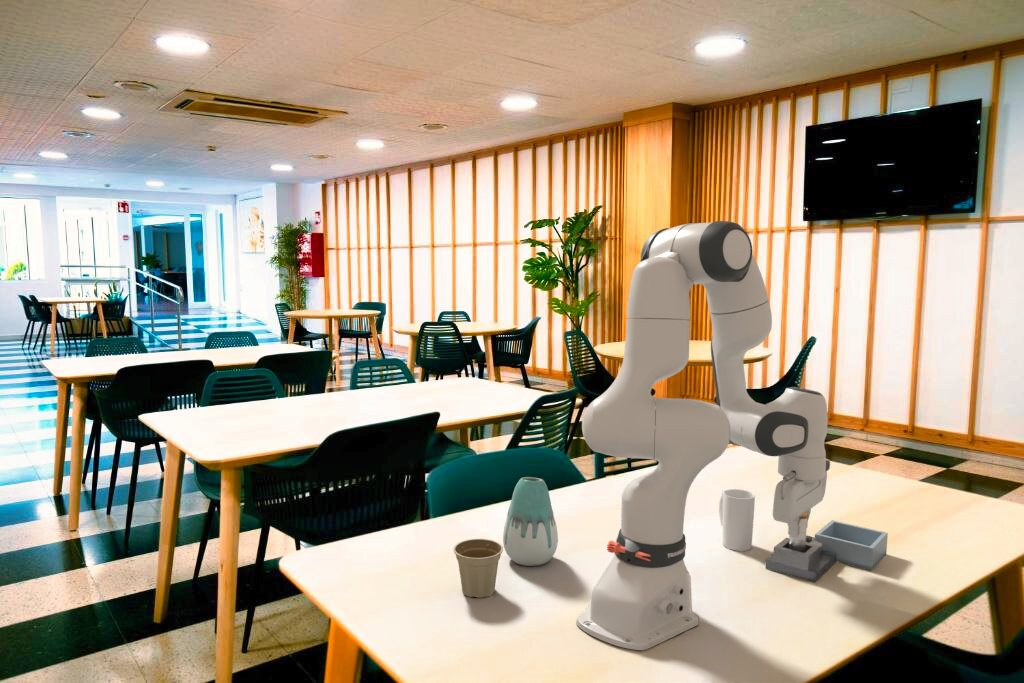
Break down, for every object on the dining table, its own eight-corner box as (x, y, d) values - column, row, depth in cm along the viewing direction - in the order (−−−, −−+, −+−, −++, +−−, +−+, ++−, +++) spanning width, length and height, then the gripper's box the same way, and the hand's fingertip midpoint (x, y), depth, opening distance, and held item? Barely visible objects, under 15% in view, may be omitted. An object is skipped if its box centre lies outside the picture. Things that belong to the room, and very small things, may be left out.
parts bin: (871, 570, 147) (873, 548, 146) (813, 555, 154) (814, 534, 154) (886, 554, 155) (887, 532, 155) (830, 540, 163) (832, 520, 162)
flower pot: (484, 607, 130) (484, 562, 129) (443, 594, 135) (443, 550, 134) (512, 588, 138) (512, 545, 137) (472, 576, 142) (472, 535, 142)
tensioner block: (815, 582, 141) (816, 557, 140) (765, 568, 147) (766, 544, 147) (835, 562, 151) (837, 539, 150) (788, 550, 157) (789, 527, 157)
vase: (529, 544, 159) (530, 466, 157) (568, 560, 151) (570, 478, 149) (491, 559, 151) (492, 477, 149) (530, 576, 143) (531, 490, 141)
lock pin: (801, 565, 144) (804, 512, 143) (785, 560, 146) (788, 509, 145) (807, 560, 147) (809, 508, 146) (791, 556, 149) (794, 505, 148)
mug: (759, 549, 157) (761, 496, 156) (733, 553, 155) (736, 500, 154) (730, 533, 167) (732, 483, 166) (706, 536, 165) (708, 486, 163)
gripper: (798, 480, 135) (795, 551, 136) (833, 459, 150) (829, 522, 151) (766, 474, 139) (762, 542, 140) (802, 454, 154) (799, 515, 156)
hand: (797, 532), depth 146 cm, fingers closed on lock pin, 3 cm apart
